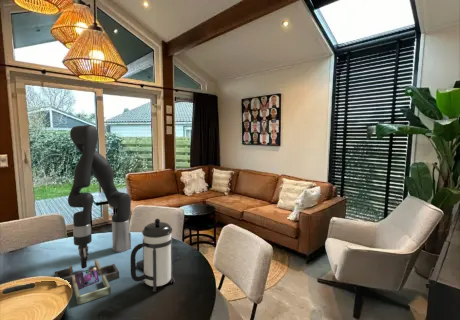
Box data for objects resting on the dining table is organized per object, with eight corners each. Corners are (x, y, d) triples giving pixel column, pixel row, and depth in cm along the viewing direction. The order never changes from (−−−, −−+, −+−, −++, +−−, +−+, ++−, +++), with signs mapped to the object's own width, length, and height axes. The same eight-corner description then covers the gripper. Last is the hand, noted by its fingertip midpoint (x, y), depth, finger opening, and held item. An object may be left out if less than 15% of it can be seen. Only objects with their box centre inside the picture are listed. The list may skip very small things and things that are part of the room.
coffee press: (145, 273, 125) (144, 213, 122) (178, 274, 124) (178, 213, 121) (130, 295, 108) (128, 226, 105) (168, 297, 107) (168, 227, 104)
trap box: (109, 261, 136) (109, 255, 136) (125, 288, 112) (125, 282, 112) (54, 276, 121) (54, 269, 121) (59, 311, 98) (59, 303, 98)
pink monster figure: (75, 274, 111) (97, 266, 118) (71, 274, 115) (92, 266, 121) (78, 290, 110) (99, 281, 117) (73, 289, 114) (95, 281, 121)
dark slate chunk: (131, 266, 132) (131, 257, 131) (164, 250, 150) (164, 242, 149) (151, 276, 123) (151, 267, 123) (184, 258, 141) (184, 250, 141)
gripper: (93, 236, 122) (95, 271, 123) (89, 227, 132) (90, 259, 134) (75, 239, 117) (76, 276, 119) (71, 230, 128) (73, 264, 130)
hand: (84, 267), depth 126 cm, fingers closed
